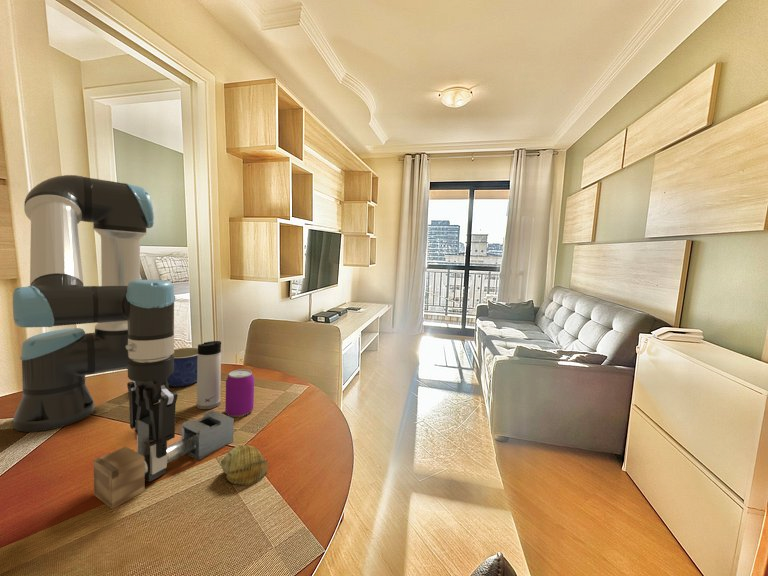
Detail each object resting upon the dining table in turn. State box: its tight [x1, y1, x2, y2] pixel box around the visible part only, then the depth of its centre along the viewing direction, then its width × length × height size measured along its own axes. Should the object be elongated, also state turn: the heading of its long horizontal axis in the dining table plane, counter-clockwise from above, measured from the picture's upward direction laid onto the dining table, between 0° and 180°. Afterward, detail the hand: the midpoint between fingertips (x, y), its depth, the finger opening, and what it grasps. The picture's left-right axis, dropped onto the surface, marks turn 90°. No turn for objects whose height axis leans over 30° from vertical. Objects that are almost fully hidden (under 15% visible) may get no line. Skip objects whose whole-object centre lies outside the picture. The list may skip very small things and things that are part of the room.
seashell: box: [220, 444, 268, 486], centre depth 68 cm, size 10×7×8 cm
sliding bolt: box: [138, 415, 196, 483], centre depth 66 cm, size 16×4×12 cm, turn 154°
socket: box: [93, 446, 146, 510], centre depth 60 cm, size 5×7×7 cm
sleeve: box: [180, 410, 235, 461], centre depth 77 cm, size 9×6×7 cm
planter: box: [167, 347, 198, 387], centre depth 112 cm, size 12×12×11 cm
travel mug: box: [196, 340, 222, 410], centre depth 97 cm, size 6×7×20 cm
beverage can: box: [225, 368, 255, 418], centre depth 94 cm, size 8×8×12 cm
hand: (151, 466), depth 66 cm, fingers closed on sliding bolt, 4 cm apart
